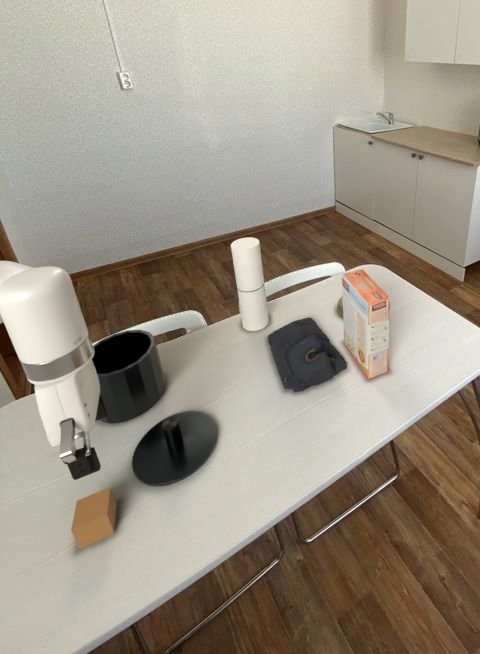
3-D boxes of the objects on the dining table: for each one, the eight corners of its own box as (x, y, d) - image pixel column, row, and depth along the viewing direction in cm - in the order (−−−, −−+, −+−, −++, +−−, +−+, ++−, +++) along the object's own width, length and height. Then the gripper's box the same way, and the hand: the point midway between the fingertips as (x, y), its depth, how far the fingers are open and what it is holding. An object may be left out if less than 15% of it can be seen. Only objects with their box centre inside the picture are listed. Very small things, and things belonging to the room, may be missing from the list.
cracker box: (390, 372, 90) (391, 297, 83) (367, 381, 88) (366, 304, 80) (364, 335, 102) (363, 267, 95) (343, 342, 99) (340, 273, 92)
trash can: (90, 434, 76) (73, 386, 72) (99, 385, 88) (85, 341, 83) (166, 407, 82) (154, 361, 77) (165, 365, 93) (154, 323, 89)
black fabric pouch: (318, 319, 108) (317, 305, 107) (350, 373, 90) (350, 357, 88) (264, 336, 102) (262, 322, 101) (287, 398, 84) (285, 381, 82)
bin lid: (131, 505, 64) (121, 477, 62) (135, 433, 76) (127, 408, 74) (221, 465, 70) (216, 438, 68) (212, 404, 82) (207, 380, 80)
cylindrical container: (237, 329, 105) (225, 248, 96) (250, 313, 112) (240, 236, 103) (261, 333, 104) (250, 251, 95) (273, 316, 110) (264, 238, 101)
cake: (331, 317, 110) (329, 301, 109) (346, 298, 119) (345, 283, 117) (362, 324, 106) (360, 307, 104) (376, 304, 114) (374, 288, 113)
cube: (79, 549, 58) (70, 530, 57) (84, 519, 62) (76, 500, 60) (114, 533, 60) (107, 514, 58) (117, 505, 64) (110, 486, 62)
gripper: (40, 326, 58) (72, 410, 64) (2, 415, 43) (48, 513, 49) (99, 311, 61) (124, 393, 67) (82, 389, 46) (116, 485, 52)
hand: (92, 444), depth 58 cm, fingers open, 9 cm apart
